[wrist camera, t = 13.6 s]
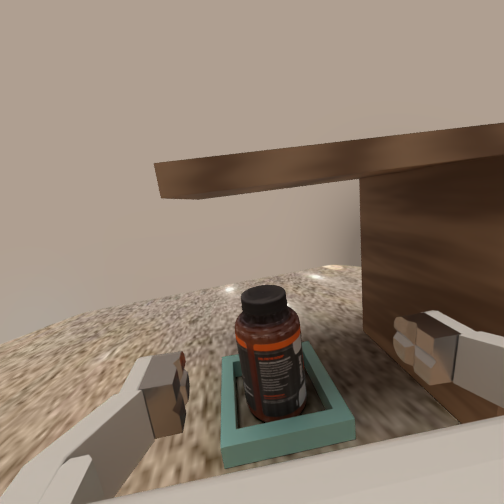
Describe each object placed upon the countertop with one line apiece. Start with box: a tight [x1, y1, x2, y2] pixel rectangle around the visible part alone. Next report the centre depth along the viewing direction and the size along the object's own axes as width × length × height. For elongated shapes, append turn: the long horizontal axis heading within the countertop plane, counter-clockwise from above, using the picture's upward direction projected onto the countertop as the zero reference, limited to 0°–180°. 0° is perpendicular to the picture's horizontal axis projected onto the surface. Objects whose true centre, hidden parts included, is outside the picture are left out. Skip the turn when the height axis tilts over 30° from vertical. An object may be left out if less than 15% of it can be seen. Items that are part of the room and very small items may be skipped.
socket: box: [221, 341, 356, 469], centre depth 23 cm, size 10×10×2 cm
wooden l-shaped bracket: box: [154, 123, 504, 424], centre depth 21 cm, size 21×16×22 cm
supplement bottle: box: [235, 285, 307, 423], centre depth 22 cm, size 6×6×11 cm
